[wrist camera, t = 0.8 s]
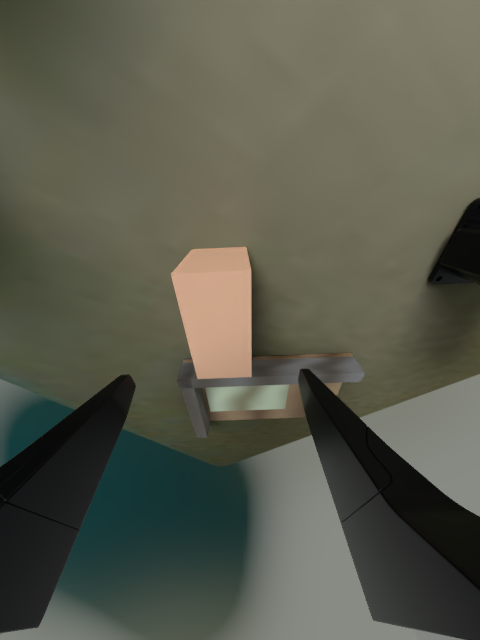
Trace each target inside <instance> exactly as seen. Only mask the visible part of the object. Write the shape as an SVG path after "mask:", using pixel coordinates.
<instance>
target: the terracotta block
mask: <svg viewBox="0 0 480 640" xmlns="http://www.w3.org/2000/svg"><path fill="white" fill-rule="evenodd" d="M171 276H172V280H173V284H174V288H175V292H176V296H177V300H178V304H179V308H180V312H181V316H182V320H183V324H184V328H185V332H186V336H187V340H188V344H189V348H190V352H191V356H192V360H193V363H194V367H195V371H196V375H197V379H213V378H239V377H252V346H251V267H250V262H249V257H248V252H247V247H234V248H210V249H192V250H191V251H190V252H189V253H188V254H187V256H186V257H185V258H184V259H183V260H182V262H181V263H180V264H179V265H178V266H177V267H176V269H175V270H174V271H173V272H172V273H171Z"/></svg>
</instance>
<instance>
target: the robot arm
mask: <svg viewBox="0 0 480 640" xmlns="http://www.w3.org/2000/svg"><path fill="white" fill-rule="evenodd" d="M479 205H480V198H478V199H476V200H474V201H473V202H472V203H471V204H470V206H469V207H468V209H467V211H466V213H465V214H464V216H463V218H462V220H461V222H460V223H459V225H458V227H457V229H456V231H455V232H454V234H453V236H452V238H451V240H450V241H449V243H448V245H447V247H446V249H445V250H444V252H443V254H442V256H441V258H440V259H439V261H438V263H437V265H436V267H435V268H434V270H433V272H432V274H431V276H430V277H429V282H431V283H433V284H454V283H477V284H480V206H479ZM478 206H479V207H478ZM437 277H438V278H437ZM298 384H299V389H300V393H301V398H302V403H303V408H304V412H305V415H306V418H307V421H308V424H309V427H310V430H311V433H312V436H313V439H314V443H315V446H316V449H317V452H318V455H319V458H320V461H321V464H322V467H323V470H324V473H325V476H326V479H327V482H328V485H329V488H330V491H331V494H332V497H333V500H334V503H335V506H336V509H337V513H338V516H339V519H340V522H341V525H342V528H343V531H344V534H345V537H346V540H347V543H348V546H349V549H350V552H351V555H352V558H353V562H354V564H355V568H356V571H357V574H358V577H359V580H360V582H361V586H362V589H363V592H364V595H365V598H366V601H367V604H368V607H369V610H370V613H371V616H372V618H373V620H374V621H377V622H383V623H387V624H392V625H397V626H401V627H406V628H411V629H412V631H413V633H414V636H415V638H416V640H480V517H479V516H477V515H475V514H474V513H472V512H470V511H468V510H466V509H465V508H464V507H462V506H460V505H459V504H458V503H456V502H454V501H453V500H452V499H450V498H449V497H448V496H446V495H445V494H444V493H443V492H441V491H440V490H439V489H438V488H436V487H435V486H434V485H433V484H432V483H431V482H430V481H428V480H427V479H426V478H425V477H424V476H423V475H421V474H420V473H419V472H418V471H417V470H416V469H414V468H413V467H412V466H411V465H409V463H407V462H406V461H405V460H404V459H403V458H401V457H400V456H399V455H398V454H397V453H396V452H395V451H394V450H392V449H391V448H390V447H389V446H388V445H386V443H385V442H384V441H383V440H382V439H380V438H379V437H378V436H377V435H376V434H375V433H374V432H373V431H372V430H371V429H370V428H369V427H367V426H366V424H365V423H364V422H363V421H362V420H361V419H360V418H359V417H358V416H357V415H356V414H355V413H354V412H353V411H352V410H351V409H350V408H349V407H348V406H346V405H345V404H344V403H343V402H342V401H341V400H340V399H339V398H338V397H337V396H336V395H335V394H334V393H333V392H332V391H331V390H330V389H329V388H328V387H327V386H326V385H325V384H324V383H323V382H322V381H321V380H320V379H319V378H318V377H317V376H316V375H315V374H314V373H313V372H312V371H311V370H310V369H308V368H303V369H300V372H299V377H298ZM135 387H136V386H135V383H134V381H133V379H132V377H131V376H130V375H120V376H119V377H118V378H116V379H115V380H114V381H112V382H111V383H110V384H109V385H107V386H106V387H105V388H103V389H102V390H101V391H99V392H98V393H97V394H96V395H94V396H93V397H92V398H90V399H89V400H88V401H87V402H85V403H84V404H83V405H81V406H80V407H79V408H77V409H76V410H75V411H74V412H72V413H71V414H70V415H68V416H67V417H66V418H65V419H63V420H62V421H61V422H60V423H58V424H57V425H55V426H54V427H53V428H52V429H50V430H49V431H48V432H46V433H45V434H44V435H43V436H42V437H40V438H39V439H37V440H36V441H35V442H33V443H32V444H31V445H30V446H28V447H27V448H26V449H24V450H23V451H22V452H20V453H19V454H18V455H16V456H15V457H14V458H12V459H11V460H9V461H8V462H7V463H5V464H4V465H2V466H1V467H0V635H1V634H2V633H4V632H11V631H18V630H24V629H31V628H38V627H39V625H40V623H41V620H42V618H43V616H44V614H45V611H46V609H47V607H48V604H49V602H50V600H51V597H52V595H53V592H54V590H55V588H56V585H57V583H58V580H59V578H60V576H61V573H62V571H63V569H64V566H65V563H66V561H67V559H68V557H69V554H70V552H71V549H72V547H73V545H74V542H75V540H76V537H77V535H78V533H79V529H80V527H81V525H82V522H83V520H84V518H85V516H86V513H87V511H88V508H89V506H90V504H91V501H92V499H93V496H94V494H95V492H96V489H97V487H98V484H99V482H100V480H101V477H102V475H103V472H104V470H105V468H106V465H107V463H108V460H109V458H110V456H111V453H112V451H113V448H114V446H115V443H116V441H117V439H118V436H119V434H120V432H121V429H122V427H123V425H124V422H125V420H126V417H127V414H128V411H129V408H130V404H131V401H132V398H133V395H134V391H135Z"/></svg>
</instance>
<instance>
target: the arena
mask: <svg viewBox="0 0 480 640" xmlns="http://www.w3.org/2000/svg"><path fill="white" fill-rule="evenodd" d="M303 368H308V369H310V370H311V371H312V372H313V373H314V374H315V375H316V376H317V377H318V378H319V379H320V380H321V381H322V382H323V383H324V384H325V385H326V386H327V387H328V388H329V389H330V390H331V391H332V392H333V393H334V394H335V395H336V396H337V394H338V392H339V389H340V387H341V385H342V382H361V380H362V379H363V377H364V375H365V371H364V370H363V369H362V367H361V366H360V365H359V363H358V362H357V360H356V359H355V358H354V356H353V355H352V354H351V353H331V354H305V355H279V356H253V357H252V377H239V378H213V379H197V375H196V371H195V367H194V363H193V360H192V359H184V360H183V363H182V366H181V369H180V372H179V375H178V379H177V381H178V384H179V387H180V390H181V392H182V395H183V398H184V401H185V404H186V407H187V410H188V413H189V415H190V418H191V421H192V424H193V427H194V430H195V433H196V436H197V438H208V430H209V421H220V420H248V419H275V418H303V417H306V415H305V412H304V408H303V403H302V398H301V393H300V389H299V384H298V377H299V372H300V369H303Z"/></svg>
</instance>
